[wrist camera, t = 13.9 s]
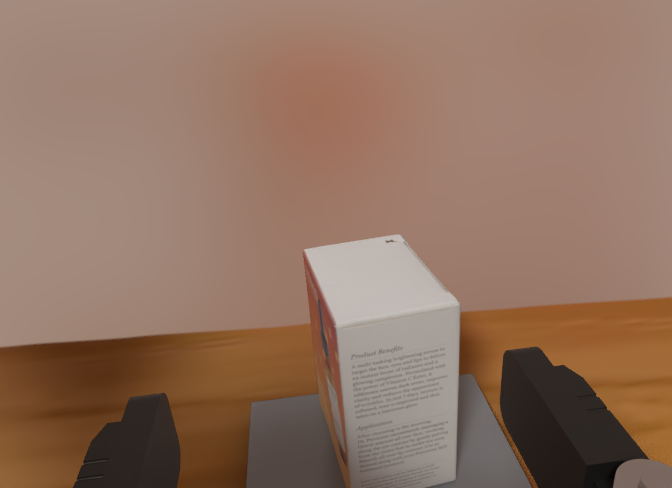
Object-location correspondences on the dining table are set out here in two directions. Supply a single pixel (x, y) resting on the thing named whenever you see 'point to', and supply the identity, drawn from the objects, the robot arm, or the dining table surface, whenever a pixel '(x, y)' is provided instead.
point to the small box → (385, 362)
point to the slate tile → (320, 457)
